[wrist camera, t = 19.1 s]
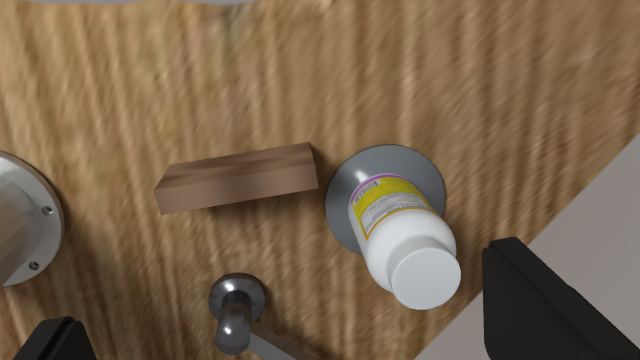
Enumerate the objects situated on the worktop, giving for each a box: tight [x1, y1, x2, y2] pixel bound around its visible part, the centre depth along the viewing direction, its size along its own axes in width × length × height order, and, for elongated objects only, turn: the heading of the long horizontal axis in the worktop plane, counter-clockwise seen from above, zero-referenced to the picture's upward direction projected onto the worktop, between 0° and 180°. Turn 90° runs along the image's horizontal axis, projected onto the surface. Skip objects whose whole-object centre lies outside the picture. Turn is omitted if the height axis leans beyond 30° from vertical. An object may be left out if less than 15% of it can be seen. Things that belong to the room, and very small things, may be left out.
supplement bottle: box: [348, 173, 461, 310], centre depth 37 cm, size 7×7×13 cm
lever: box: [209, 273, 318, 360], centre depth 44 cm, size 18×5×7 cm, turn 50°
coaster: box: [325, 144, 445, 256], centre depth 43 cm, size 11×11×1 cm
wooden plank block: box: [154, 142, 319, 215], centre depth 38 cm, size 12×2×6 cm, turn 98°
